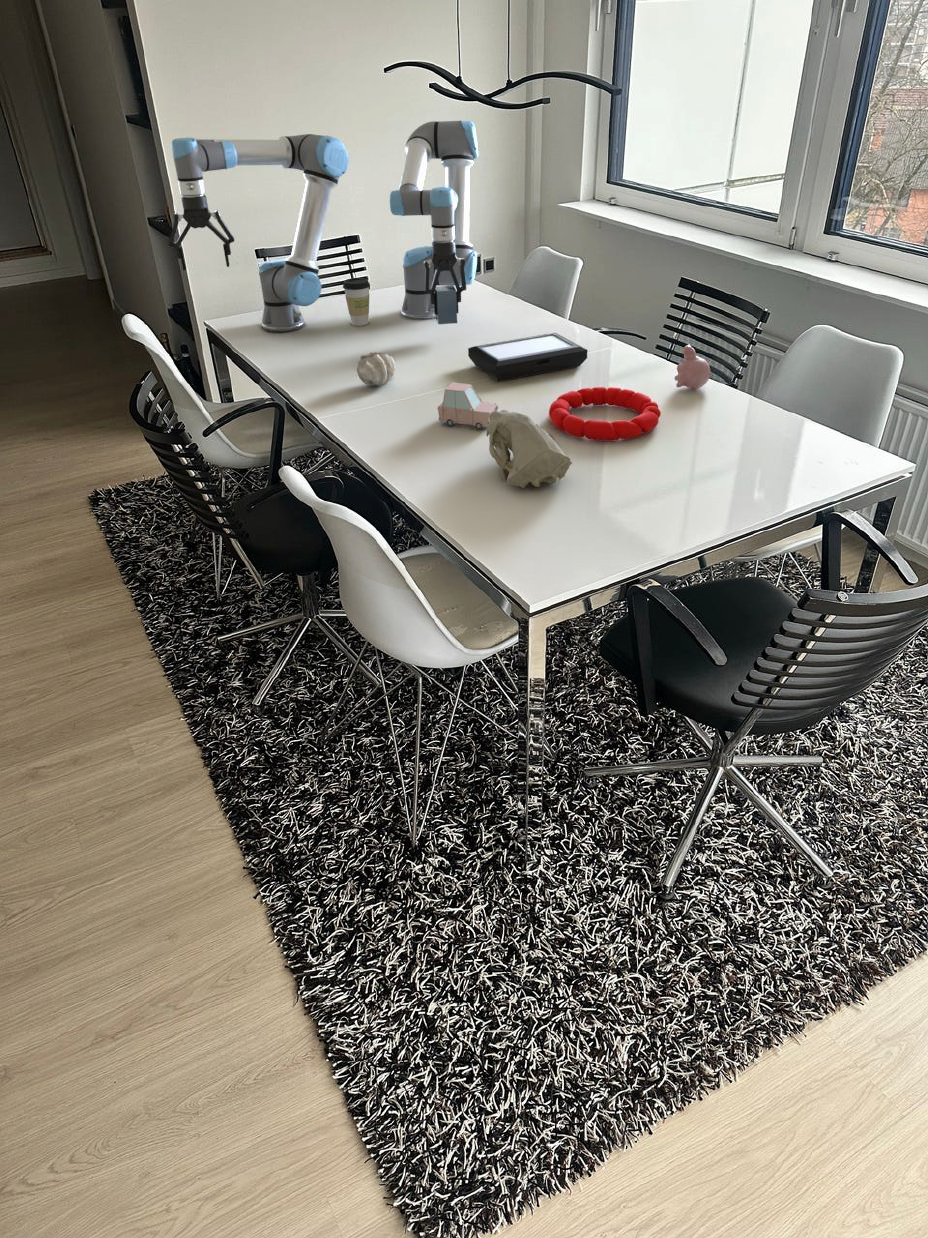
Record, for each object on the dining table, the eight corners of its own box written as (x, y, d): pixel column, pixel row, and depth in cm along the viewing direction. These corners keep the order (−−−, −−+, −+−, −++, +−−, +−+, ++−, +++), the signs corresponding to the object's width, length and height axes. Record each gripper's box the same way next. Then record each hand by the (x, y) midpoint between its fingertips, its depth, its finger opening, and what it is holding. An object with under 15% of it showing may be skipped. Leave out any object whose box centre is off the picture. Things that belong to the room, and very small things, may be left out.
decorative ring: (589, 435, 224) (684, 402, 234) (527, 398, 247) (617, 369, 256) (589, 461, 229) (683, 427, 238) (529, 422, 251) (617, 393, 260)
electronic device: (495, 363, 267) (468, 345, 282) (495, 383, 270) (468, 364, 285) (587, 347, 277) (556, 330, 292) (586, 366, 281) (555, 349, 296)
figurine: (665, 387, 264) (669, 347, 257) (693, 380, 268) (698, 340, 261) (686, 396, 257) (690, 355, 250) (714, 388, 262) (720, 348, 255)
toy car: (488, 432, 240) (488, 396, 234) (436, 426, 244) (434, 390, 239) (499, 419, 247) (499, 384, 241) (448, 413, 252) (447, 379, 246)
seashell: (349, 384, 274) (346, 352, 268) (393, 375, 279) (391, 343, 274) (362, 394, 266) (359, 361, 260) (407, 384, 272) (405, 352, 266)
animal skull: (496, 517, 219) (521, 479, 201) (463, 429, 225) (484, 384, 207) (557, 503, 225) (586, 465, 206) (523, 417, 231) (549, 373, 212)
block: (436, 318, 306) (434, 286, 300) (454, 317, 306) (453, 285, 300) (438, 324, 300) (436, 291, 294) (457, 323, 301) (456, 290, 295)
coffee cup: (372, 326, 323) (368, 283, 314) (345, 327, 323) (340, 284, 315) (374, 318, 331) (371, 276, 322) (348, 319, 331) (344, 277, 323)
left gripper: (150, 199, 269) (165, 272, 281) (234, 194, 272) (245, 267, 284) (152, 195, 275) (167, 267, 287) (234, 190, 278) (246, 261, 290)
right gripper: (414, 244, 285) (418, 317, 298) (474, 240, 287) (476, 313, 300) (412, 239, 291) (416, 311, 304) (471, 236, 293) (472, 307, 306)
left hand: (206, 267), depth 285 cm, fingers open, 13 cm apart
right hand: (446, 312), depth 302 cm, fingers closed on block, 6 cm apart
